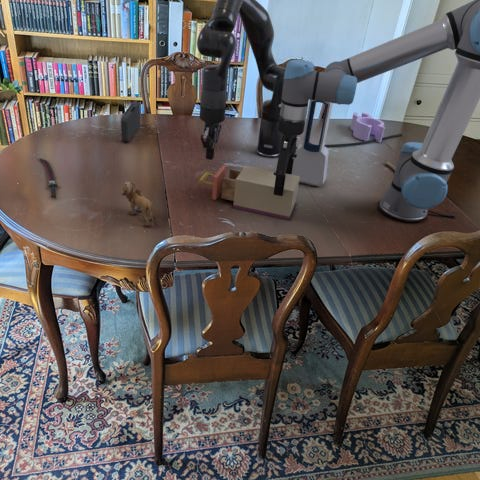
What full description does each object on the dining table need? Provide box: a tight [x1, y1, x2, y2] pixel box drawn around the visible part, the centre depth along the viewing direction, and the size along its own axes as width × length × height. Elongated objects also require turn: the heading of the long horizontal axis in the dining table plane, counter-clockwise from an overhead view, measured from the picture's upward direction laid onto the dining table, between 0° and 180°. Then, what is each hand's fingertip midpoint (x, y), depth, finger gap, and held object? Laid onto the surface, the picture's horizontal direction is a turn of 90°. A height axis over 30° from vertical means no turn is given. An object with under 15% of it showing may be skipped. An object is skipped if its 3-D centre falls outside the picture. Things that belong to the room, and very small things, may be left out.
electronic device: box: [292, 99, 334, 188], centre depth 159 cm, size 12×8×30 cm, turn 71°
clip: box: [349, 112, 386, 143], centre depth 214 cm, size 20×12×7 cm, turn 11°
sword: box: [40, 158, 59, 198], centre depth 151 cm, size 31×3×1 cm, turn 26°
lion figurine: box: [119, 181, 159, 227], centre depth 134 cm, size 15×5×9 cm, turn 50°
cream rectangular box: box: [232, 165, 300, 221], centre depth 146 cm, size 18×11×10 cm, turn 74°
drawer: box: [198, 164, 242, 202], centre depth 148 cm, size 22×10×8 cm, turn 74°
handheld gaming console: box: [120, 101, 141, 143], centre depth 188 cm, size 23×3×10 cm, turn 178°
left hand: (209, 158), depth 146 cm, fingers closed
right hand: (282, 185), depth 144 cm, fingers open, 13 cm apart
